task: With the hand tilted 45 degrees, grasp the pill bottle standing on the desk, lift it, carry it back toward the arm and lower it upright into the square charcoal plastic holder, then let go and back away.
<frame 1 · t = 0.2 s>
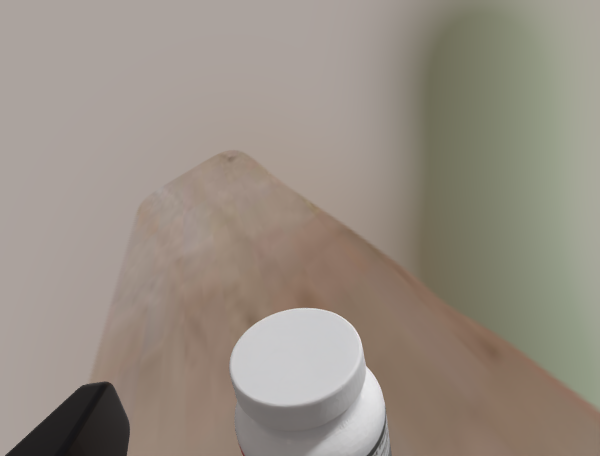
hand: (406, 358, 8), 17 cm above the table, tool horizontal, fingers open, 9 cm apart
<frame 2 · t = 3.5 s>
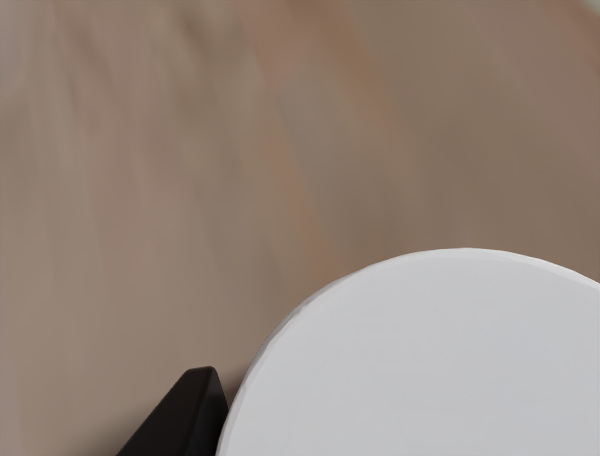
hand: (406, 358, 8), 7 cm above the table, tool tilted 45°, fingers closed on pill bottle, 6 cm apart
pill bottle: (390, 425, 14), on the table, touching gripper
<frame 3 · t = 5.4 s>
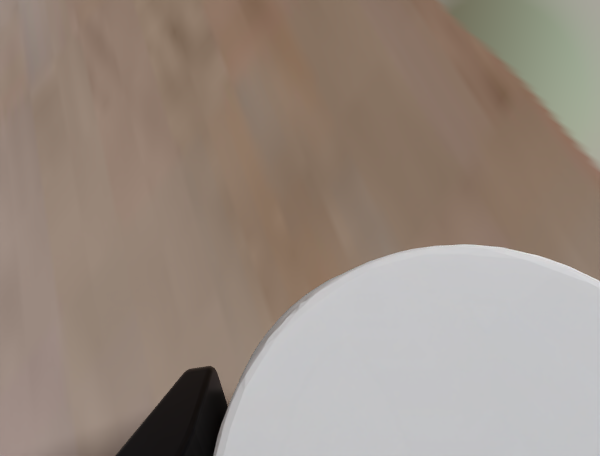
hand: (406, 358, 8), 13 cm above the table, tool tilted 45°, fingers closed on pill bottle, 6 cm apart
pill bottle: (388, 423, 14), point 6 cm above the table, touching gripper
when the fingers open (9 cm above the table, at t = 7.3 s): pill bottle drops 1 cm, resting on bottle holder.
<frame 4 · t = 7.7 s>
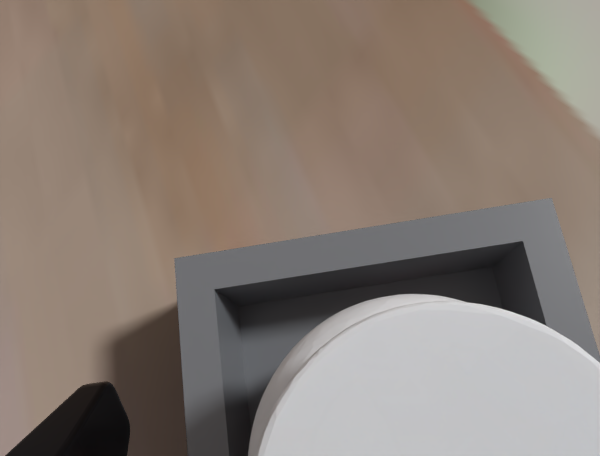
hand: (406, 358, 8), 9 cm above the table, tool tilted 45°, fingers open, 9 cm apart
pill bottle: (386, 429, 15), point 1 cm above the table, touching bottle holder
bottle holder: (385, 419, 16), on the table
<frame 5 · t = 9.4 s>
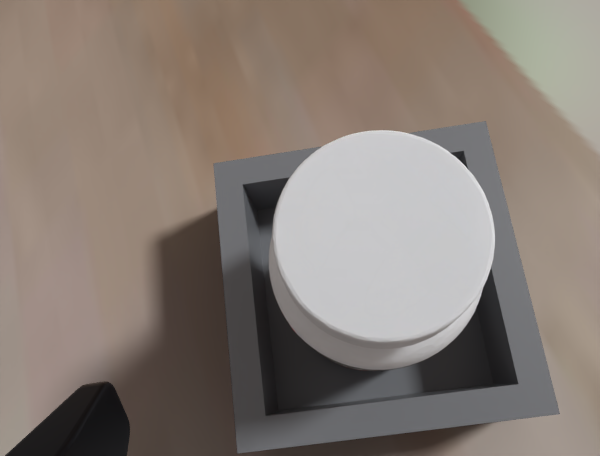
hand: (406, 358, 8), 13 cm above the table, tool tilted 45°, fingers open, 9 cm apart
pill bottle: (366, 296, 21), point 1 cm above the table, touching bottle holder
bottle holder: (366, 294, 21), on the table
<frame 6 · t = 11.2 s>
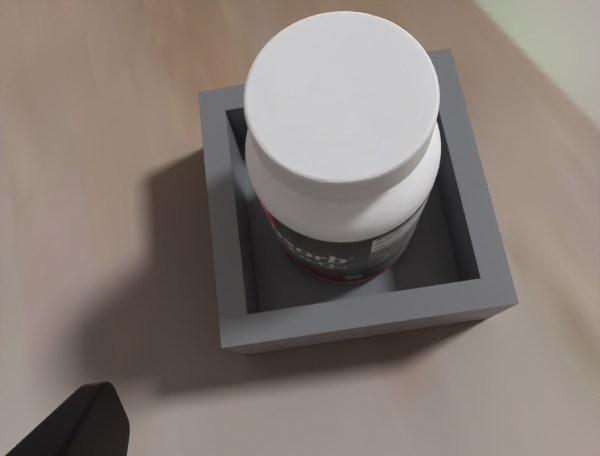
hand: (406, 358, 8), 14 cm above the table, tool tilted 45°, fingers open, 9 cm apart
pill bottle: (344, 220, 22), point 1 cm above the table, touching bottle holder
bottle holder: (344, 221, 23), on the table
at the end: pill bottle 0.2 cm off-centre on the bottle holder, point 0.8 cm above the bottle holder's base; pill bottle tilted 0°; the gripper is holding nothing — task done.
